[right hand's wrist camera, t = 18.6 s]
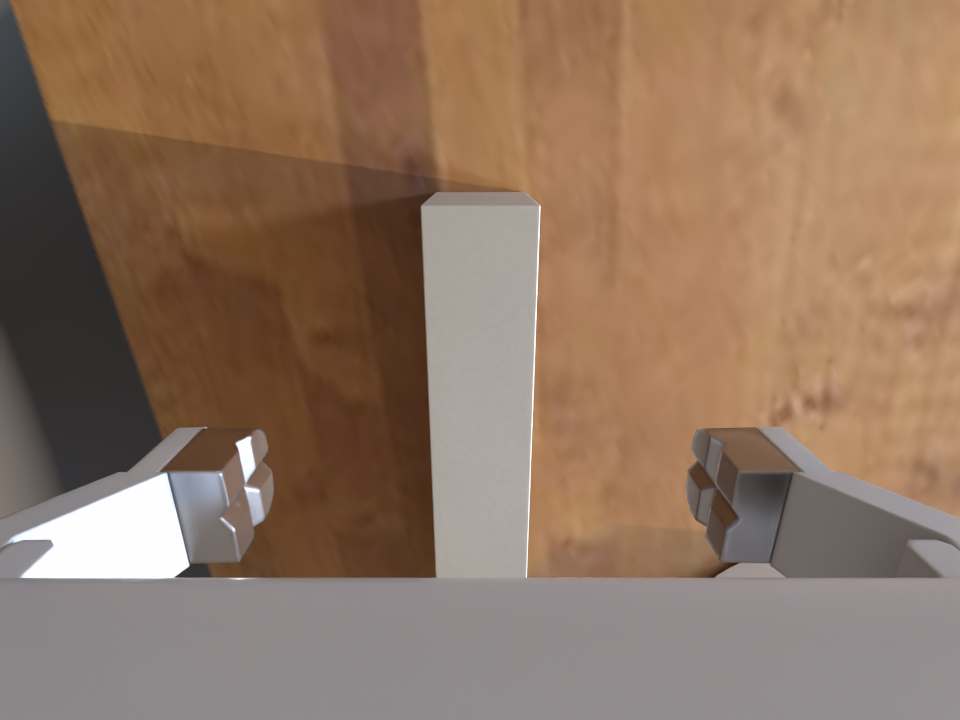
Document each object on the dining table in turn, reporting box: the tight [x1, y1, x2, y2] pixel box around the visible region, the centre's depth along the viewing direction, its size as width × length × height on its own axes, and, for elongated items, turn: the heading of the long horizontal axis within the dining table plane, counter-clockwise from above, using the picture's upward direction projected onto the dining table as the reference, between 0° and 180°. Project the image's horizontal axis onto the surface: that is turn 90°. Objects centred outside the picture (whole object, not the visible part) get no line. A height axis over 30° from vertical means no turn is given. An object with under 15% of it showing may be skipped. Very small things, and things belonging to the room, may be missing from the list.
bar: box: [421, 192, 540, 578], centre depth 31 cm, size 27×5×8 cm, turn 0°
